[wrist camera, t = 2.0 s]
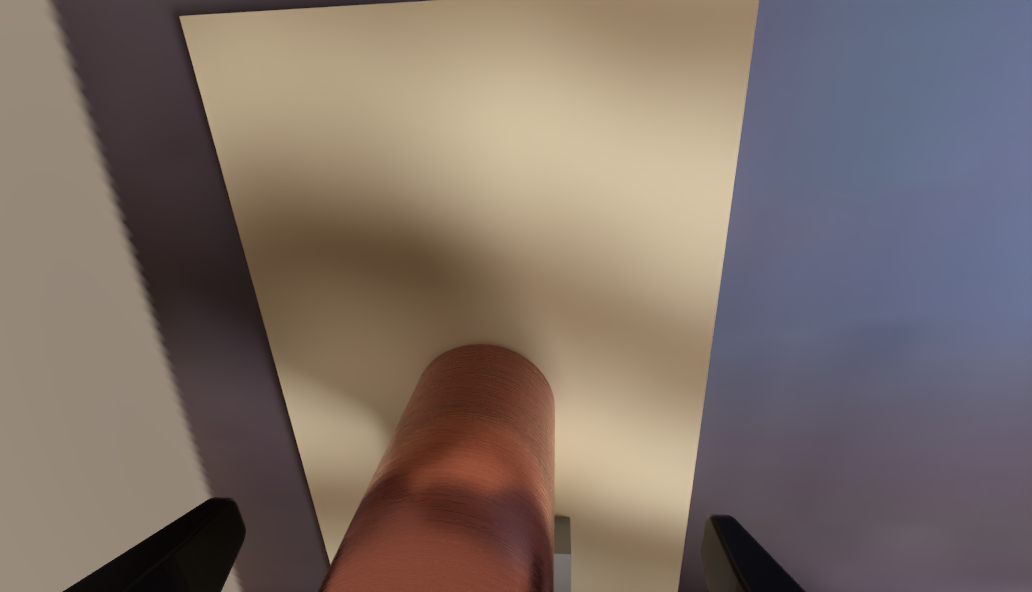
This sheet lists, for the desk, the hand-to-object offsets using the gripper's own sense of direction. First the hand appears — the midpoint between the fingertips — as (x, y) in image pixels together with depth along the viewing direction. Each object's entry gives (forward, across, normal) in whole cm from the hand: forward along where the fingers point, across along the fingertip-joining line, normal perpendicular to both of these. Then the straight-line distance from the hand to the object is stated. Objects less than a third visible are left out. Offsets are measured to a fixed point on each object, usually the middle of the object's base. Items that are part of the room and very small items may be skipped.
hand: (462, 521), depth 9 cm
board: (+5, 0, +4) cm, 6 cm away
